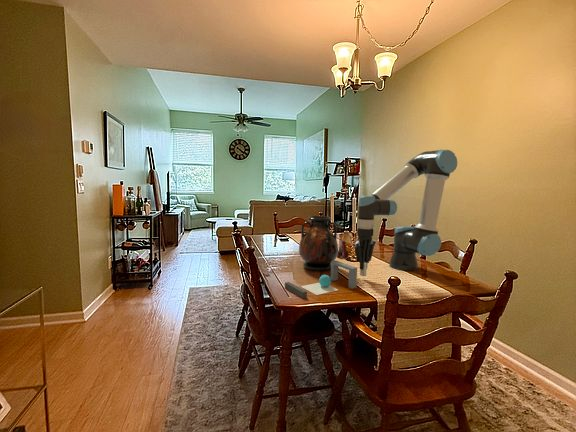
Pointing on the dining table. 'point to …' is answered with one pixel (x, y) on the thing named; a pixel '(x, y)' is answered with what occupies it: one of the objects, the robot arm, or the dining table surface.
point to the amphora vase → (318, 244)
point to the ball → (325, 281)
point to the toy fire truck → (342, 249)
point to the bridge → (351, 269)
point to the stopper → (296, 290)
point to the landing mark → (318, 289)
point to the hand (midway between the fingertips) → (363, 275)
